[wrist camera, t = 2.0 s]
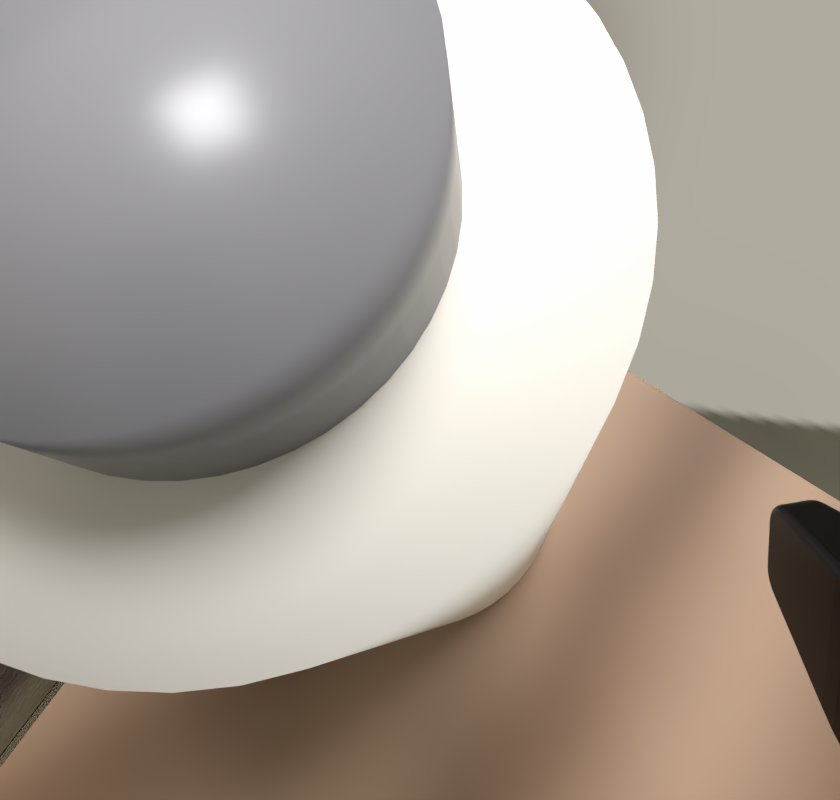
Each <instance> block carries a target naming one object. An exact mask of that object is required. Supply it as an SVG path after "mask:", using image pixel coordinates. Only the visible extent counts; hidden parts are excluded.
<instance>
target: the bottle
mask: <svg viewBox="0 0 840 800" xmlns="http://www.w3.org/2000/svg"><path fill="white" fill-rule="evenodd" d="M657 226H658V215H657V199H656V183H655V168H654V161H653V157H652V152H651V147H650V143H649V138H648V133H647V129H646V124H645V119H644V115H643V111H642V108H641V105H640V103H639V100H638V98H637V95H636V92H635V90H634V87H633V85H632V82H631V79H630V76H629V74H628V71H627V68H626V66H625V63H624V61H623V59H622V57H621V56H620V54H619V52H618V50H617V48H616V47H615V45H614V43H613V41H612V40H611V38H610V36H609V34H608V33H607V31H606V29H605V27H604V25H603V24H602V22H601V20H600V18H599V16H598V15H597V14H596V13H595V11H594V10H593V9H592V7H591V6H590V5H589V4H588V2H587V1H586V0H0V663H2V664H4V665H7V666H10V667H13V668H16V669H19V670H21V671H24V672H27V673H30V674H33V675H36V676H38V677H41V678H44V679H49V680H54V681H60V682H65V683H70V684H76V685H81V686H86V687H92V688H97V689H102V690H109V691H135V692H162V693H177V692H187V691H196V690H205V689H214V688H224V687H233V686H242V685H246V684H250V683H253V682H257V681H261V680H265V679H269V678H273V677H277V676H281V675H285V674H289V673H293V672H297V671H301V670H305V669H309V668H312V667H315V666H318V665H321V664H325V663H328V662H331V661H334V660H337V659H340V658H343V657H346V656H350V655H353V654H356V653H359V652H362V651H365V650H368V649H371V648H375V647H378V646H381V645H384V644H387V643H390V642H393V641H397V640H400V639H403V638H406V637H409V636H412V635H415V634H418V633H422V632H425V631H428V630H431V629H434V628H437V627H440V626H444V625H447V624H450V623H453V622H456V621H459V620H462V619H464V618H467V617H469V616H472V615H474V614H477V613H478V612H480V611H482V610H484V609H485V608H487V607H489V606H491V605H492V604H494V603H495V602H496V601H497V600H499V599H500V598H501V597H503V596H504V595H505V594H507V593H508V592H509V591H510V590H511V589H512V588H513V587H514V585H515V584H516V583H517V582H518V581H519V580H520V579H521V578H522V576H523V575H524V574H525V572H526V571H527V570H528V568H529V567H530V566H531V564H532V562H533V560H534V558H535V557H536V555H537V553H538V551H539V550H540V548H541V546H542V544H543V542H544V540H545V538H546V536H547V534H548V532H549V530H550V528H551V526H552V524H553V522H554V520H555V518H556V516H557V514H558V512H559V510H560V509H561V507H562V505H563V503H564V501H565V499H566V497H567V495H568V493H569V491H570V489H571V487H572V485H573V483H574V481H575V479H576V477H577V475H578V473H579V471H580V470H581V468H582V466H583V464H584V462H585V460H586V458H587V456H588V454H589V452H590V450H591V448H592V446H593V444H594V442H595V440H596V438H597V436H598V434H599V432H600V431H601V429H602V427H603V425H604V423H605V421H606V419H607V417H608V415H609V413H610V411H611V409H612V407H613V405H614V403H615V401H616V398H617V396H618V393H619V391H620V388H621V386H622V383H623V381H624V378H625V376H626V373H627V370H628V368H629V365H630V363H631V360H632V358H633V355H634V353H635V350H636V347H637V345H638V342H639V338H640V334H641V330H642V325H643V321H644V317H645V313H646V308H647V304H648V300H649V296H650V292H651V287H652V283H653V274H654V261H655V250H656V239H657Z"/></svg>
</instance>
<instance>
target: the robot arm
mask: <svg viewBox="0 0 840 800" xmlns="http://www.w3.org/2000/svg"><path fill="white" fill-rule="evenodd" d="M768 576H769V581H770V585H771V588H772V591H773V593H774V596H775V598H776V600H777V603H778V605H779V607H780V610H781V612H782V615H783V617H784V619H785V622H786V624H787V626H788V629H789V631H790V633H791V636H792V638H793V640H794V643H795V645H796V648H797V650H798V652H799V655H800V657H801V659H802V662H803V664H804V666H805V669H806V671H807V674H808V676H809V678H810V681H811V683H812V685H813V688H814V690H815V692H816V695H817V697H818V699H819V702H820V704H821V707H822V709H823V711H824V713H825V716H826V718H827V720H828V722H829V724H830V727H831V729H832V731H833V733H834V735H835V737H836V739H837V741H838V743H839V744H840V511H838V510H836V509H834V508H832V507H830V506H828V505H826V504H825V503H822V502H820V501H817V500H806V501H800V502H794V503H788V504H782V505H778V506H776V507H775V508H774V509H773V510H772V512H771V515H770V525H769V546H768Z"/></svg>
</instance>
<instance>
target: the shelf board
mask: <svg viewBox="0 0 840 800" xmlns="http://www.w3.org/2000/svg"><path fill="white" fill-rule="evenodd" d="M806 500H817V501H820V502H822V503H825V504H826V505H828V506H830V507H832V508H834V509H836V510H838V511H840V501H838V500H837V499H835V498H833V497H832V496H830V495H828V494H827V493H825V492H824V491H822V490H820V489H819V488H817V487H815V486H814V485H812V484H811V483H809V482H807V481H806V480H804V479H802V478H801V477H799V476H798V475H796V474H794V473H793V472H791V471H790V470H788V469H786V468H785V467H783V466H781V465H780V464H778V463H777V462H775V461H773V460H772V459H770V458H768V457H767V456H765V455H764V454H762V453H760V452H759V451H757V450H755V449H754V448H752V447H751V446H749V445H747V444H746V443H744V442H743V441H741V440H739V439H738V438H736V437H734V436H733V435H731V434H730V433H728V432H726V431H725V430H723V429H721V428H720V427H718V426H717V425H715V424H713V423H712V422H710V421H708V420H707V419H705V418H704V417H702V416H700V415H699V414H697V413H696V412H694V411H692V410H691V409H689V408H687V407H686V406H684V405H683V404H681V403H679V402H678V401H676V400H674V399H673V398H671V397H670V396H668V395H666V394H665V393H663V392H662V391H660V390H658V389H657V388H655V387H653V386H651V385H650V384H648V383H647V382H645V381H644V380H642V379H640V378H639V377H637V376H636V375H634V374H632V373H631V372H629V371H627V373H626V376H625V378H624V381H623V383H622V386H621V388H620V391H619V393H618V396H617V398H616V401H615V403H614V405H613V407H612V409H611V411H610V413H609V415H608V417H607V419H606V421H605V423H604V425H603V427H602V429H601V431H600V432H599V434H598V436H597V438H596V440H595V442H594V444H593V446H592V448H591V450H590V452H589V454H588V456H587V458H586V460H585V462H584V464H583V466H582V468H581V470H580V471H579V473H578V475H577V477H576V479H575V481H574V483H573V485H572V487H571V489H570V491H569V493H568V495H567V497H566V499H565V501H564V503H563V505H562V507H561V509H560V510H559V512H558V514H557V516H556V518H555V520H554V522H553V524H552V526H551V528H550V530H549V532H548V534H547V536H546V538H545V540H544V542H543V544H542V546H541V548H540V550H539V551H538V553H537V555H536V557H535V558H534V560H533V562H532V564H531V566H530V567H529V568H528V570H527V571H526V572H525V574H524V575H523V576H522V578H521V579H520V580H519V581H518V582H517V583H516V584H515V585H514V587H513V588H512V589H511V590H510V591H509V592H508V593H507V594H505V595H504V596H503V597H501V598H500V599H499V600H497V601H496V602H495V603H494V604H492V605H491V606H489V607H487V608H485V609H484V610H482V611H480V612H478V613H477V614H474V615H472V616H469V617H467V618H464V619H462V620H459V621H456V622H453V623H450V624H447V625H444V626H440V627H437V628H434V629H431V630H428V631H425V632H422V633H418V634H415V635H412V636H409V637H406V638H403V639H400V640H397V641H393V642H390V643H387V644H384V645H381V646H378V647H375V648H371V649H368V650H365V651H362V652H359V653H356V654H353V655H350V656H346V657H343V658H340V659H337V660H334V661H331V662H328V663H325V664H321V665H318V666H315V667H312V668H309V669H305V670H301V671H297V672H293V673H289V674H285V675H281V676H277V677H273V678H269V679H265V680H261V681H257V682H253V683H250V684H246V685H242V686H233V687H224V688H214V689H205V690H196V691H187V692H177V693H162V692H135V691H109V690H102V689H97V688H92V687H86V686H81V685H76V684H70V683H64V685H63V686H62V687H61V688H60V690H59V691H58V692H57V694H56V695H55V696H54V698H53V699H52V700H51V702H50V703H49V704H48V705H47V707H46V708H45V709H44V711H43V712H42V713H41V715H40V716H39V717H38V719H37V720H36V721H35V723H34V724H33V725H32V726H31V728H30V729H29V730H28V732H27V733H26V734H25V736H24V737H23V738H22V740H21V741H20V742H19V744H18V745H17V746H16V747H15V749H14V750H13V751H12V753H11V754H10V755H9V757H8V758H7V759H6V761H5V762H4V763H3V764H2V766H1V767H0V800H840V744H839V743H838V741H837V739H836V737H835V735H834V733H833V731H832V729H831V727H830V724H829V722H828V720H827V718H826V716H825V713H824V711H823V709H822V707H821V704H820V702H819V699H818V697H817V695H816V692H815V690H814V688H813V685H812V683H811V681H810V678H809V676H808V674H807V671H806V669H805V666H804V664H803V662H802V659H801V657H800V655H799V652H798V650H797V648H796V645H795V643H794V640H793V638H792V636H791V633H790V631H789V629H788V626H787V624H786V622H785V619H784V617H783V615H782V612H781V610H780V607H779V605H778V603H777V600H776V598H775V596H774V593H773V591H772V588H771V585H770V581H769V576H768V546H769V525H770V515H771V512H772V510H773V509H774V508H775V507H776V506H778V505H782V504H788V503H794V502H800V501H806Z"/></svg>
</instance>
